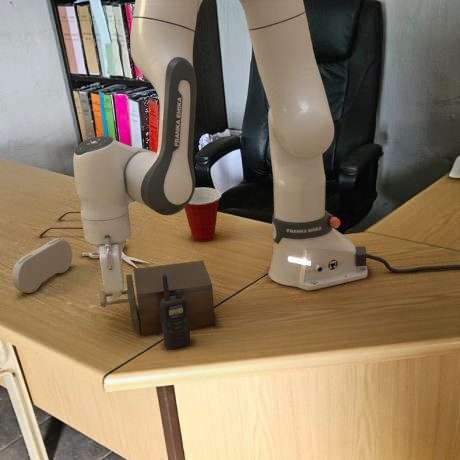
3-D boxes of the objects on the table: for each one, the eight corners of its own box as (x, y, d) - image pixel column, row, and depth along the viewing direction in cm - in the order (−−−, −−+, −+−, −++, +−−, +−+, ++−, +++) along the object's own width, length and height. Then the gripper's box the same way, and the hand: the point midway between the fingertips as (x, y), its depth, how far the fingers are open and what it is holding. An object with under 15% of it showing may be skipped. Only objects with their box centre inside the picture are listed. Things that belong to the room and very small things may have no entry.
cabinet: (142, 336, 126) (136, 294, 121) (139, 307, 137) (133, 268, 132) (215, 326, 128) (212, 284, 123) (206, 299, 138) (203, 260, 134)
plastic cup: (188, 248, 165) (184, 202, 158) (179, 234, 174) (175, 190, 167) (228, 241, 167) (226, 196, 161) (218, 228, 176) (215, 185, 170)
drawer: (104, 335, 125) (98, 302, 121) (104, 309, 135) (98, 278, 131) (201, 322, 127) (198, 289, 124) (193, 298, 137) (190, 266, 133)
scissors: (115, 240, 170) (163, 258, 157) (115, 243, 170) (163, 261, 157) (81, 253, 163) (128, 272, 151) (82, 255, 164) (128, 275, 151)
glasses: (96, 237, 175) (93, 220, 172) (39, 237, 178) (35, 220, 175) (112, 220, 187) (109, 203, 184) (58, 220, 189) (55, 203, 187)
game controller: (67, 264, 160) (61, 233, 155) (75, 265, 159) (69, 233, 154) (15, 297, 145) (6, 263, 140) (23, 299, 144) (15, 264, 140)
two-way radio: (166, 351, 120) (157, 279, 112) (159, 341, 124) (150, 270, 116) (194, 345, 122) (187, 272, 114) (186, 334, 125) (179, 264, 118)
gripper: (125, 245, 112) (135, 315, 119) (122, 209, 129) (130, 272, 136) (89, 249, 111) (101, 319, 118) (90, 212, 129) (101, 275, 136)
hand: (117, 294), depth 127 cm, fingers closed
